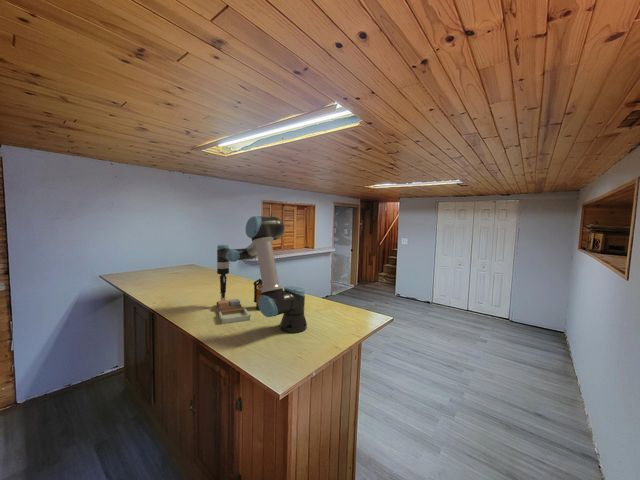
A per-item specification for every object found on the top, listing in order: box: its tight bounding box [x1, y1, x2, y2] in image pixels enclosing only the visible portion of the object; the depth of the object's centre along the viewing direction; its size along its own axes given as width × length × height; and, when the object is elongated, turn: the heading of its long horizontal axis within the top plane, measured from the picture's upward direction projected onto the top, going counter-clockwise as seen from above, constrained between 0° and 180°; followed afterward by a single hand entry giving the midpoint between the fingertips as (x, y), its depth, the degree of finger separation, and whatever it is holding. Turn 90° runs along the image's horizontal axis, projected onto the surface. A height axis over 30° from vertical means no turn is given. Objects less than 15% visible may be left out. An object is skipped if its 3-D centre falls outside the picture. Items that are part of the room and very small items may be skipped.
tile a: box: [217, 299, 229, 307], centre depth 178 cm, size 6×6×2 cm
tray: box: [218, 308, 251, 325], centre depth 162 cm, size 13×16×3 cm
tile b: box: [228, 298, 241, 306], centre depth 181 cm, size 6×6×2 cm
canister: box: [253, 278, 263, 310], centre depth 182 cm, size 9×11×20 cm
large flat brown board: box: [216, 301, 245, 315], centre depth 178 cm, size 22×14×2 cm, turn 27°
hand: (222, 302), depth 182 cm, fingers closed
